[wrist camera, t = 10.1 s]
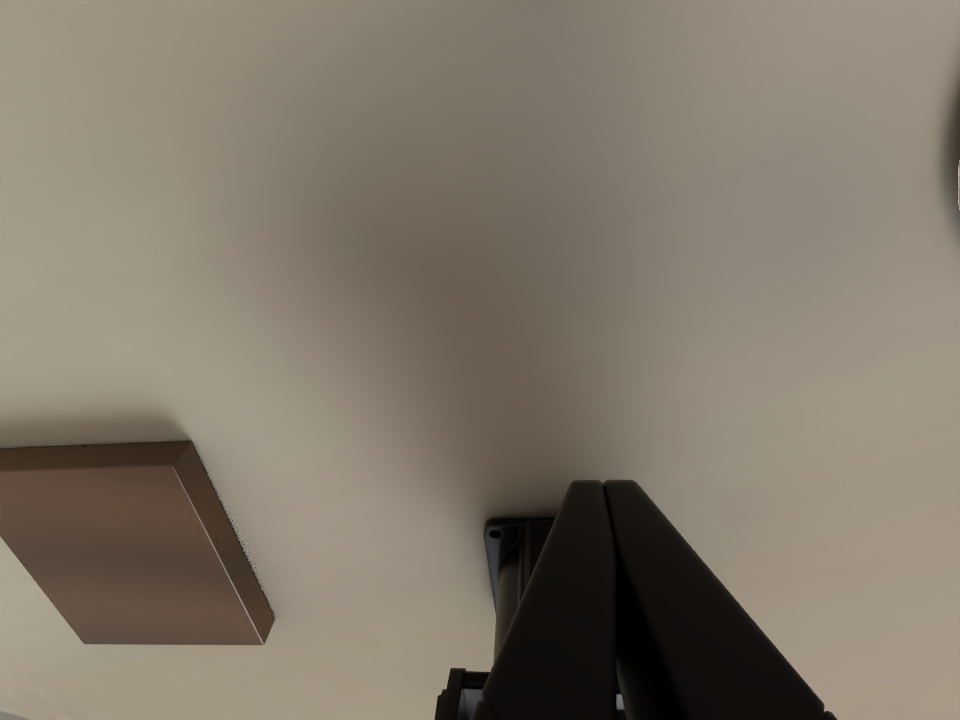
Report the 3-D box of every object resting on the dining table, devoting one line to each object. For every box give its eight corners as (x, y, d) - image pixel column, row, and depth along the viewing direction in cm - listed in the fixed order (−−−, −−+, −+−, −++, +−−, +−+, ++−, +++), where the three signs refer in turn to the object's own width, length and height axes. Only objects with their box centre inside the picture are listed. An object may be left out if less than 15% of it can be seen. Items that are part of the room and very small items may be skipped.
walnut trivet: (275, 618, 30) (264, 645, 29) (101, 619, 31) (83, 644, 30) (191, 440, 24) (172, 464, 23) (-21, 449, 25) (-51, 472, 24)
